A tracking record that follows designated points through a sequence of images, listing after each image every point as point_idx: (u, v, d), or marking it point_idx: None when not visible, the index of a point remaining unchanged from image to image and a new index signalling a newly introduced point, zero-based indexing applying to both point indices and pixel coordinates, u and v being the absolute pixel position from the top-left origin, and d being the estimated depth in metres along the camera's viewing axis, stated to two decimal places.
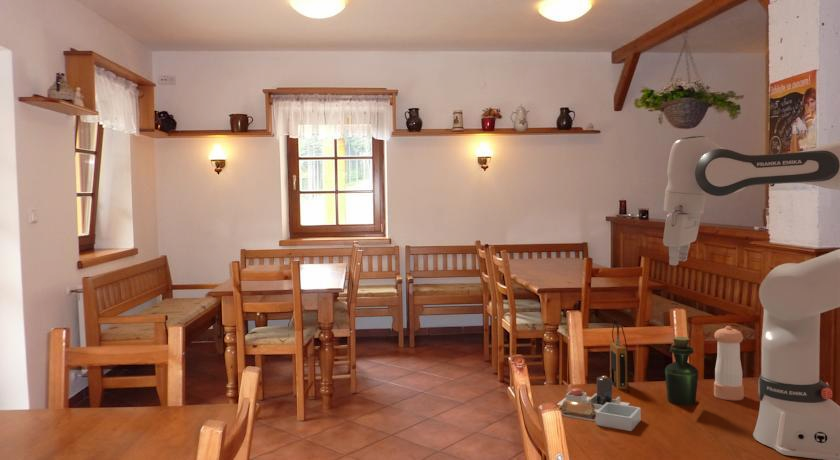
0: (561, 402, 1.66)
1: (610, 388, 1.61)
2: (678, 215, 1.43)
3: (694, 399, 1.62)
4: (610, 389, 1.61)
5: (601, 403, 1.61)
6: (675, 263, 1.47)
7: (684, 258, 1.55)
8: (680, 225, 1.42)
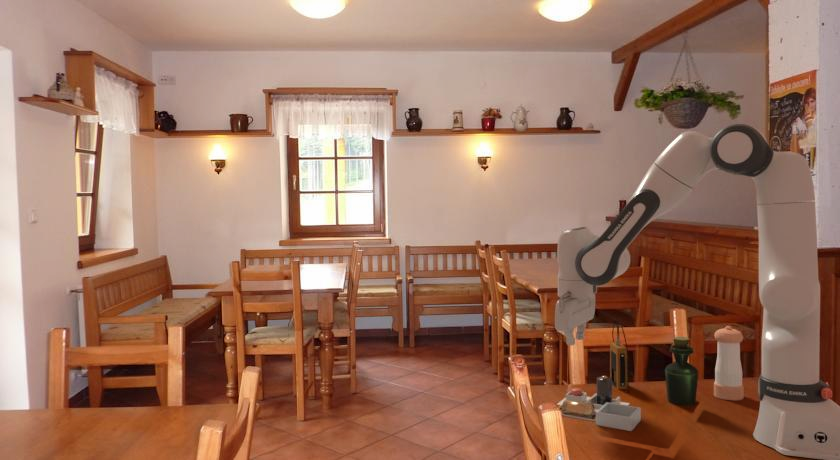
0: (561, 402, 1.66)
1: (610, 388, 1.61)
2: (565, 302, 1.58)
3: (694, 399, 1.62)
4: (610, 389, 1.61)
5: (601, 403, 1.61)
6: (571, 343, 1.62)
7: (581, 337, 1.68)
8: (567, 311, 1.57)
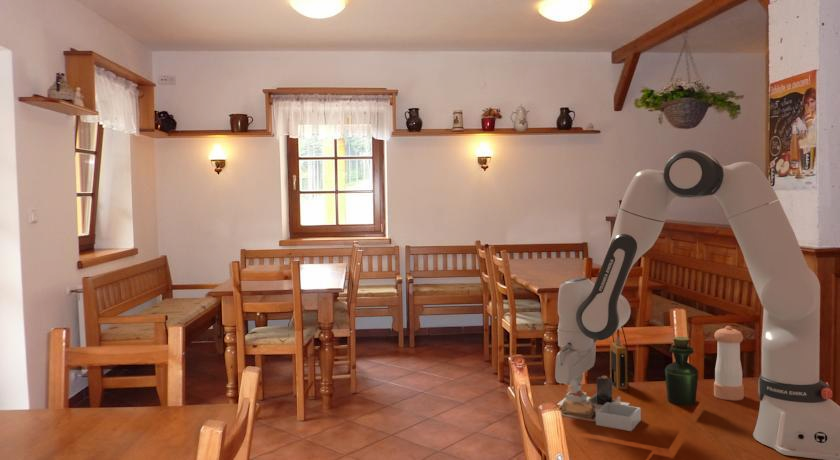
0: (561, 402, 1.66)
1: (610, 388, 1.61)
2: (566, 354, 1.59)
3: (694, 399, 1.62)
4: (610, 389, 1.61)
5: (601, 403, 1.61)
6: (575, 391, 1.65)
7: None
8: (568, 364, 1.58)
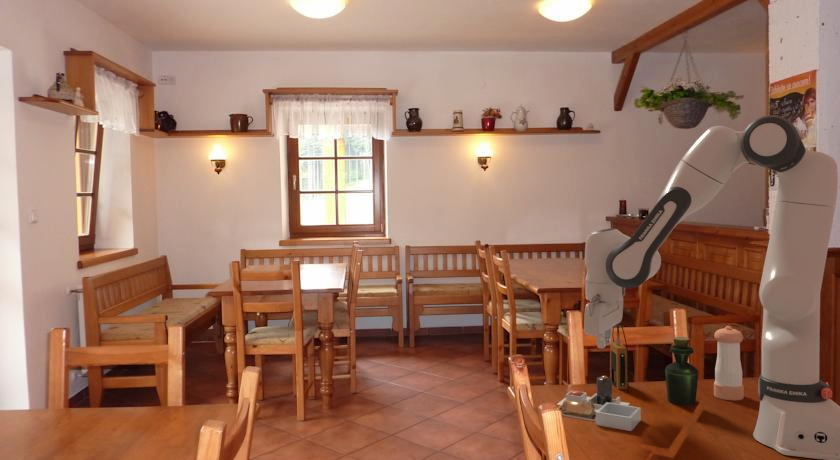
0: (561, 402, 1.66)
1: (610, 388, 1.61)
2: (595, 305, 1.54)
3: (694, 399, 1.62)
4: (610, 389, 1.61)
5: (601, 403, 1.61)
6: (602, 346, 1.59)
7: (608, 342, 1.63)
8: (597, 315, 1.53)
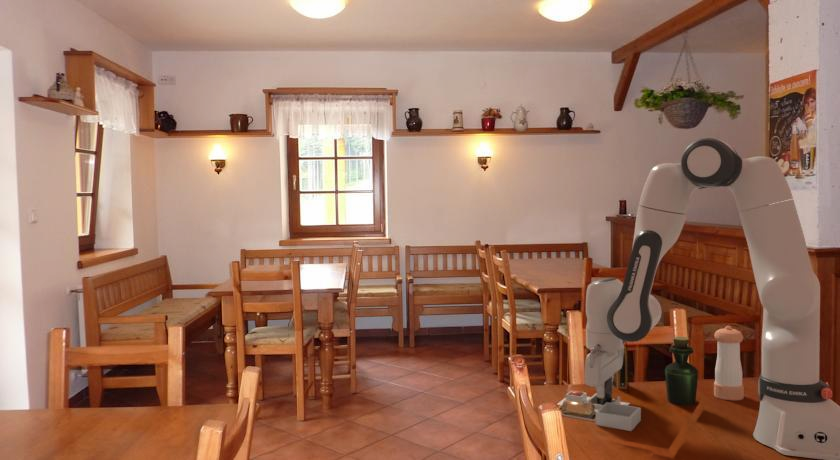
0: (561, 402, 1.66)
1: (610, 388, 1.61)
2: (596, 356, 1.54)
3: (694, 399, 1.62)
4: (610, 389, 1.61)
5: (601, 403, 1.61)
6: (602, 396, 1.59)
7: None
8: (598, 366, 1.53)
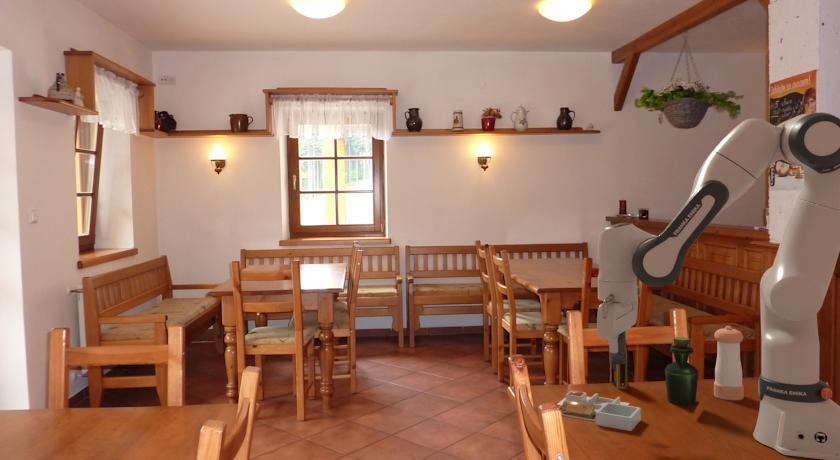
0: (561, 402, 1.66)
1: (624, 343, 1.48)
2: (609, 306, 1.42)
3: (694, 399, 1.62)
4: (624, 343, 1.48)
5: (614, 359, 1.49)
6: (615, 351, 1.47)
7: None
8: (611, 317, 1.41)
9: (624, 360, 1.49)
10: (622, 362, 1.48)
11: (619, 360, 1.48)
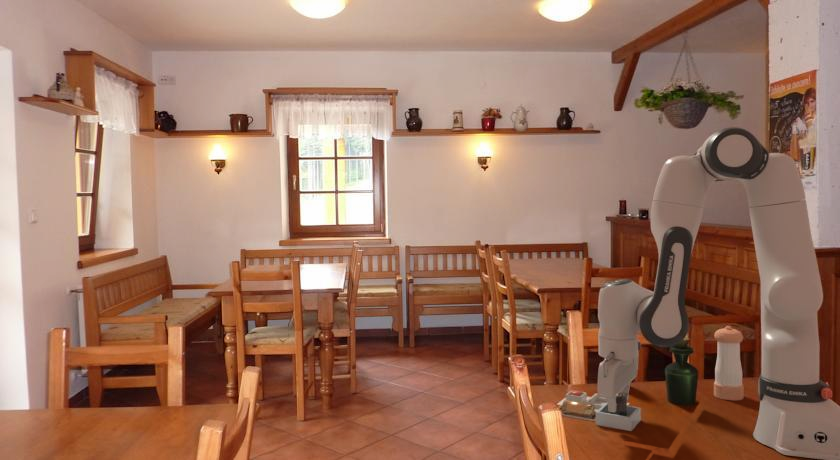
0: (561, 402, 1.66)
1: (624, 407, 1.49)
2: (609, 365, 1.43)
3: (694, 399, 1.62)
4: (625, 408, 1.49)
5: None
6: (614, 410, 1.46)
7: None
8: (612, 376, 1.41)
9: None
10: None
11: None
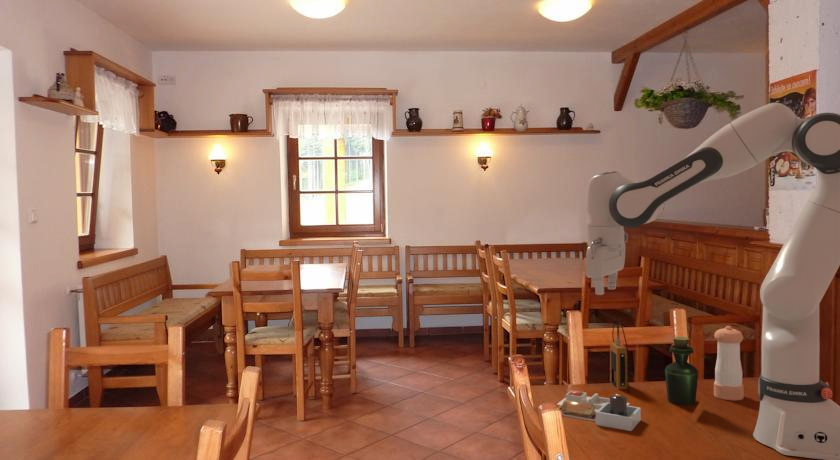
0: (561, 402, 1.66)
1: (624, 407, 1.49)
2: (597, 247, 1.52)
3: (694, 399, 1.62)
4: (625, 408, 1.49)
5: None
6: (600, 293, 1.55)
7: (613, 286, 1.63)
8: (599, 257, 1.50)
9: None
10: None
11: None
